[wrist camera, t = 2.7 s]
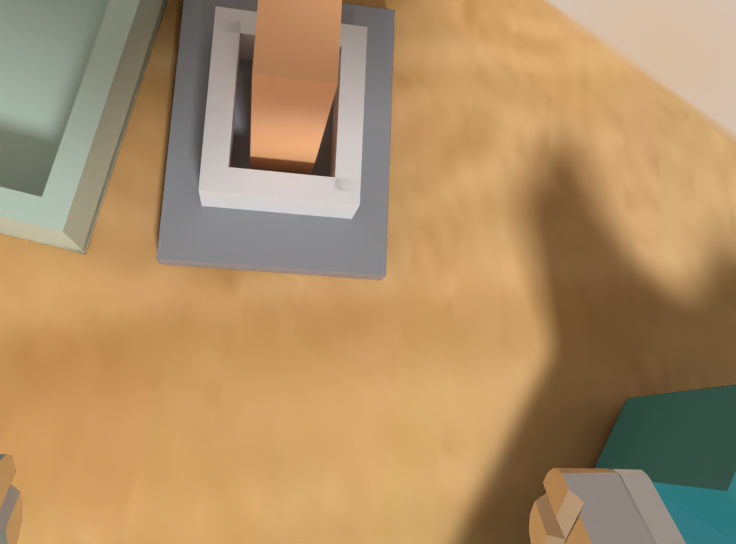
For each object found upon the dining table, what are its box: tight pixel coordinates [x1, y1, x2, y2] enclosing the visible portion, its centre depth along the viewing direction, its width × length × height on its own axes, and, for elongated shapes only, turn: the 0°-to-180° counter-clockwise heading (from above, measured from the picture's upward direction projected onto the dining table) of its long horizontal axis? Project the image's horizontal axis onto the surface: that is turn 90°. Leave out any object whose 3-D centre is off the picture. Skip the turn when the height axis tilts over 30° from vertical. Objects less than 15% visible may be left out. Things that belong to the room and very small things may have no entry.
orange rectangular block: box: [250, 0, 342, 174], centre depth 24 cm, size 2×4×8 cm, turn 177°
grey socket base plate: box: [157, 0, 395, 280], centre depth 27 cm, size 9×12×3 cm
